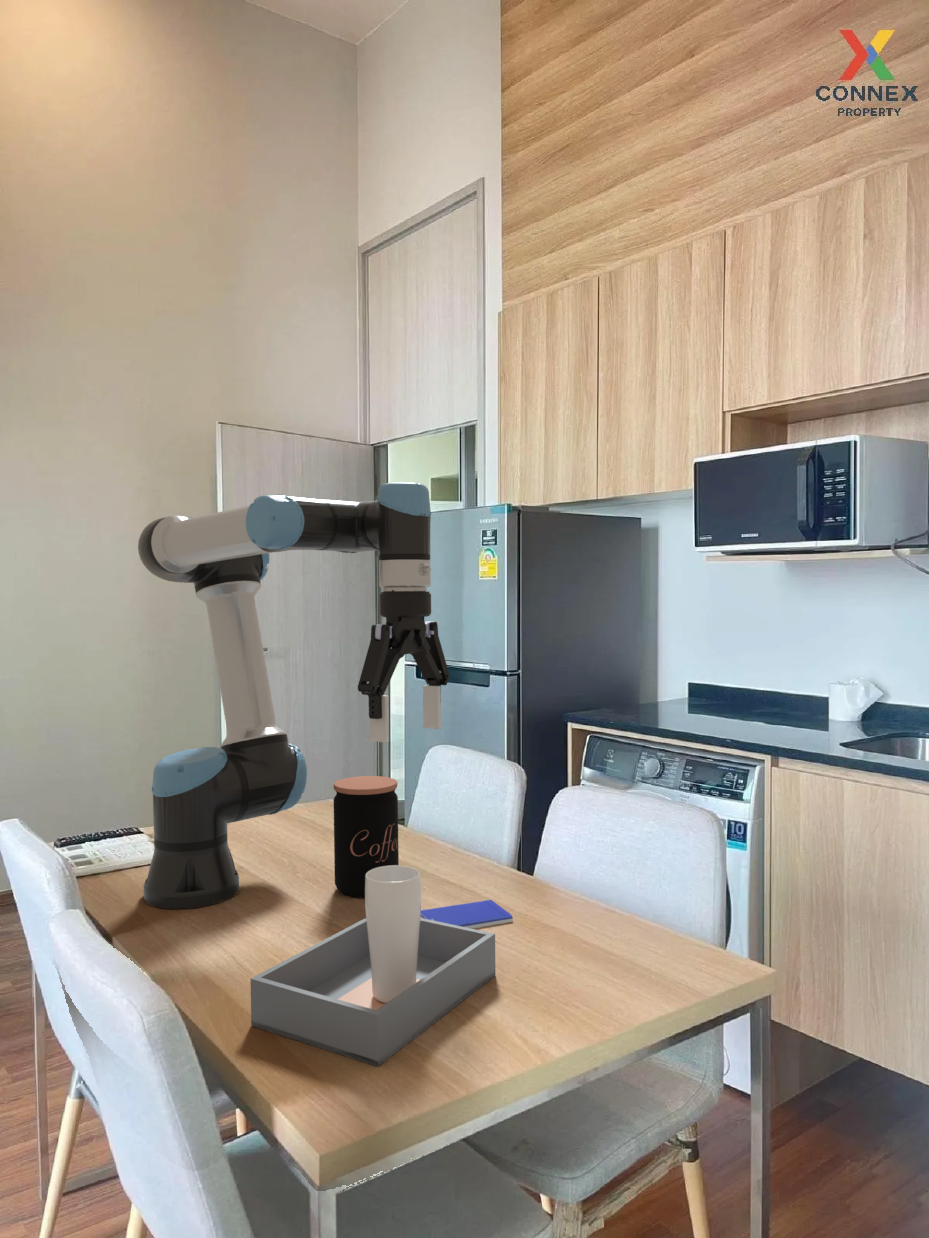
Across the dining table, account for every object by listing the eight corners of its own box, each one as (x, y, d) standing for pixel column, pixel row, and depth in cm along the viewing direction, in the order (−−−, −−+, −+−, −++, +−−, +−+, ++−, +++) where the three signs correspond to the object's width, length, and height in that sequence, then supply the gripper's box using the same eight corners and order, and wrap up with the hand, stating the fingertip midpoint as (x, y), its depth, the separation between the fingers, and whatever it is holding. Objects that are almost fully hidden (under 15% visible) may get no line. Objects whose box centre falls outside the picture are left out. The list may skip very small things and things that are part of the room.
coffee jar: (347, 904, 144) (346, 792, 143) (326, 884, 153) (324, 779, 153) (409, 893, 149) (407, 784, 148) (384, 875, 158) (383, 773, 158)
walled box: (251, 1025, 104) (250, 978, 104) (382, 948, 126) (381, 909, 126) (378, 1066, 95) (377, 1014, 94) (495, 975, 117) (495, 933, 116)
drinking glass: (367, 984, 112) (365, 865, 112) (421, 982, 113) (420, 863, 112) (365, 1010, 106) (363, 883, 105) (423, 1007, 106) (422, 881, 106)
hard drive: (435, 927, 131) (512, 915, 135) (416, 909, 138) (489, 898, 143) (436, 938, 131) (512, 925, 136) (416, 919, 138) (490, 907, 143)
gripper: (375, 590, 119) (377, 750, 120) (470, 589, 140) (471, 724, 141) (330, 590, 123) (332, 745, 124) (430, 589, 144) (431, 721, 145)
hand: (407, 734), depth 132 cm, fingers open, 13 cm apart
